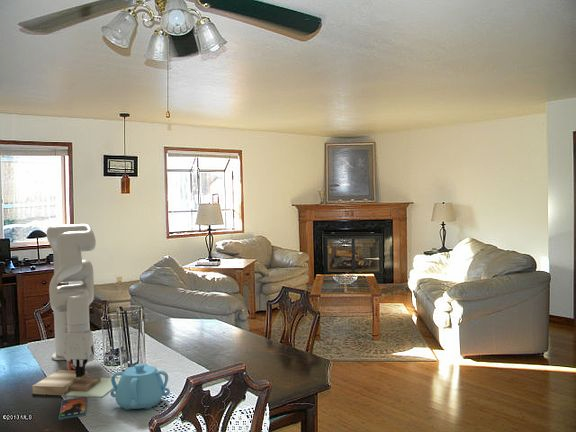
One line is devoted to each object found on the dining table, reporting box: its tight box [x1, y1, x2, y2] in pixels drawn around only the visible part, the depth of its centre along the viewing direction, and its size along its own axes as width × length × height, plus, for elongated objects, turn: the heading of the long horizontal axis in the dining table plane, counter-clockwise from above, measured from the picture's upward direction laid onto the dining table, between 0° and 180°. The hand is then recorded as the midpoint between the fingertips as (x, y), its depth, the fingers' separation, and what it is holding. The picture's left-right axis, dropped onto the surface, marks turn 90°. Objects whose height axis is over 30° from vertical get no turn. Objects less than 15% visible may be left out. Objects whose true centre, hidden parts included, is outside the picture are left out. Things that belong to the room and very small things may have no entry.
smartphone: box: [58, 397, 88, 421], centre depth 169 cm, size 8×1×15 cm
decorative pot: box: [110, 363, 171, 411], centre depth 172 cm, size 16×16×14 cm
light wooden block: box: [32, 369, 88, 396], centre depth 189 cm, size 16×12×3 cm
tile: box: [69, 376, 101, 392], centre depth 188 cm, size 10×7×2 cm
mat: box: [64, 377, 120, 398], centre depth 187 cm, size 17×14×1 cm
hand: (80, 376), depth 188 cm, fingers closed
